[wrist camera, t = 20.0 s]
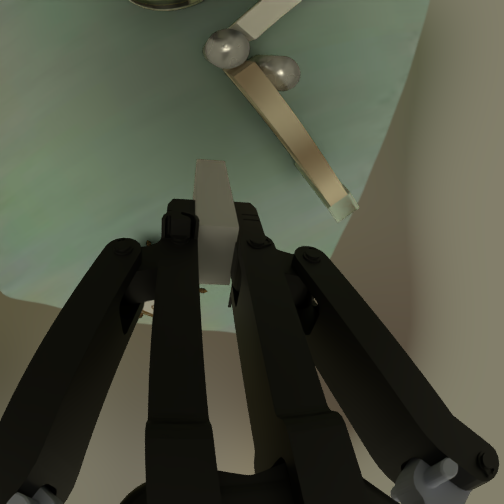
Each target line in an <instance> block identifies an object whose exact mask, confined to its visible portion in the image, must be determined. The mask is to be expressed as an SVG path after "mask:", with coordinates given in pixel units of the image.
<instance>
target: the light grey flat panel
mask: <svg viewBox="0 0 504 504" xmlns="http://www.w3.org/2000/svg"><path fill="white" fill-rule="evenodd" d="M301 1H302V0H260V1H259V2H258V3H256V4H255V5H254V6H253V7H252V8H250V9H249V10H248V11H247V12H246V13H245V14H243V15H242V16H241V17H240V18H239V19H238V20H237V21H236V22H234V23H233V24H232V25H231V26H230V27H229V28H228V29H234V30H237V31H239V32H241V33H242V34H244V35H245V37H246V38H247V40H248V41H251V40H255V39H257V38H258V37H259V36H260V35H261V34H262V33H263V32H264V31H266V30H267V29H268V28H269V27H270V26H271V25H273V24H274V23H275V22H276V21H277V20H278V19H280V18H281V17H282V16H283V15H284V14H286V13H287V12H288V11H289V10H291V9H292V8H293V7H294V6H296V5H297V4H298V3H299V2H301Z"/></svg>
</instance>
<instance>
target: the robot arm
mask: <svg viewBox="0 0 504 504" xmlns="http://www.w3.org/2000/svg"><path fill="white" fill-rule="evenodd" d="M230 278H231V279H232V287H231V293H230V298H229V304H228V307H231V304H232V308H233V315H234V322H235V329H236V335H237V342H238V349H239V355H240V361H241V368H242V375H243V381H244V387H245V393H246V399H247V406H248V412H249V418H250V424H251V430H252V436H253V441H254V448H255V458H254V469H255V474H254V475H242V474H235V473H229V472H223V471H218V470H217V464H216V456H215V447H214V439H213V431H212V426H211V424H210V421H209V416H208V406H207V395H206V384H205V372H204V358H203V344H202V328H201V310H200V290H199V284H220V285H229V284H230ZM314 298H315V300H316V301H317V303H318V305H317V304H316V303H315V301H314ZM152 300H154V309H153V321H152V335H151V351H150V368H149V396H148V421H147V422H146V428H145V465H146V467H145V468H146V482H145V483H143V484H142V485H140V486H138V487H137V488H135V489H134V490H133V491H132V492H130V493H129V494H128V495H127V496H126V497H125V498H124V499H123V501H122V502H121V503H120V504H400V503H398V502H401V504H465V502H466V500H467V498H468V496H469V494H470V492H471V491H472V490H473V489H475V488H477V487H479V486H481V485H483V484H485V483H487V482H488V481H490V480H491V479H493V478H494V477H495V475H496V474H497V472H498V467H499V460H498V455H497V453H496V451H495V449H494V448H493V447H492V446H491V445H490V444H488V443H487V442H486V441H485V440H483V439H482V438H481V437H480V436H478V435H477V434H476V433H475V432H473V431H472V430H471V429H470V428H468V427H467V426H466V425H464V424H463V423H462V422H461V421H459V420H458V419H457V418H456V417H454V416H453V415H452V414H451V412H450V411H449V409H448V408H447V407H446V405H445V404H444V402H443V401H442V400H441V398H440V397H439V396H438V394H437V393H436V392H435V390H434V389H433V387H432V386H431V385H430V384H429V382H428V381H427V379H426V378H425V377H424V375H423V374H422V373H421V371H420V370H419V369H418V368H417V366H416V365H415V364H414V363H413V361H412V360H411V358H410V357H409V356H408V355H407V353H406V352H405V351H404V349H403V348H402V347H401V346H400V344H399V343H398V342H397V341H396V339H395V338H394V337H393V335H392V334H391V333H390V332H389V330H388V329H387V328H386V326H385V325H384V324H383V323H382V322H381V320H380V319H379V318H378V317H377V315H376V314H375V313H374V312H373V310H372V309H371V308H370V307H369V306H368V304H367V303H366V302H365V301H364V300H363V298H362V297H361V296H360V295H359V294H358V292H357V291H356V290H355V289H354V287H353V286H352V285H351V284H350V283H349V281H348V280H347V279H346V278H345V277H344V275H343V274H341V272H340V271H339V270H338V269H337V267H336V266H335V265H334V264H333V263H332V262H331V260H330V259H329V258H328V257H327V256H326V255H325V254H324V253H323V252H322V251H320V250H318V249H316V248H314V247H310V246H302V247H299V248H297V249H296V250H295V253H294V254H290V253H286V252H283V251H280V250H278V249H276V248H275V245H274V243H273V241H272V240H271V239H270V238H268V237H267V236H265V234H264V231H263V228H262V225H261V222H260V219H259V216H258V213H257V210H256V208H255V207H254V206H253V205H252V204H251V203H243V202H234V201H233V197H232V192H231V187H230V183H229V178H228V173H227V169H226V164H225V161H217V160H204V159H197V162H196V171H195V181H194V192H193V200H187V199H173V200H172V201H171V202H170V203H169V204H168V207H167V213H166V214H164V215H163V217H162V235H161V240H160V241H159V242H157V243H155V244H153V245H150V246H145V247H141V245H140V243H138V242H137V241H136V240H133V239H130V238H119V239H115V240H113V241H111V242H110V243H108V244H107V245H106V246H105V248H104V249H103V251H102V252H101V253H100V255H99V256H98V257H97V259H96V260H95V261H94V263H93V264H92V266H91V267H90V268H89V270H88V271H87V273H86V274H85V276H84V277H83V278H82V280H81V281H80V283H79V284H78V286H77V287H76V289H75V290H74V292H73V293H72V295H71V296H70V298H69V299H68V301H67V302H66V304H65V305H64V307H63V308H62V310H61V311H60V313H59V315H58V316H57V318H56V320H55V321H54V323H53V324H52V326H51V327H50V329H49V331H48V332H47V334H46V336H45V337H44V339H43V341H42V342H41V344H40V346H39V347H38V349H37V351H36V353H35V355H34V356H33V358H32V360H31V362H30V363H29V365H28V367H27V369H26V371H25V373H24V374H23V376H22V378H21V380H20V382H19V384H18V386H17V388H16V390H15V392H14V394H13V396H12V398H11V400H10V402H9V404H8V406H7V408H6V410H5V412H4V414H3V416H2V418H1V421H0V504H64V503H65V501H66V500H67V498H68V496H69V494H70V493H71V491H72V489H73V487H74V485H75V482H76V480H77V477H78V474H79V472H80V469H81V466H82V462H83V459H84V456H85V453H86V450H87V448H88V445H89V442H90V439H91V436H92V433H93V430H94V428H95V425H96V422H97V419H98V417H99V414H100V411H101V409H102V406H103V403H104V401H105V398H106V395H107V393H108V390H109V388H110V385H111V383H112V380H113V378H114V375H115V373H116V370H117V368H118V365H119V363H120V361H121V358H122V356H123V353H124V351H125V349H126V346H127V344H128V341H129V339H130V337H131V335H132V332H133V330H134V328H135V325H136V323H137V321H138V319H139V316H140V314H141V312H142V310H143V308H144V304H145V302H147V301H152ZM315 366H316V368H317V369H318V371H319V372H320V374H321V376H322V378H323V379H324V381H325V383H326V384H327V386H328V387H329V389H330V391H331V392H332V394H333V396H334V397H335V399H336V400H337V402H338V403H339V405H340V407H341V408H342V410H343V412H344V413H345V415H346V417H347V418H348V420H349V421H350V423H351V425H352V426H353V428H354V430H355V431H356V433H357V434H358V436H359V438H360V439H361V441H362V442H363V444H364V446H365V447H366V449H367V451H368V452H369V454H370V455H371V457H372V458H373V460H374V461H375V463H376V464H377V465H378V467H379V468H380V469H381V470H382V471H383V472H384V474H385V475H386V476H387V477H388V478H389V479H390V480H392V481H393V482H394V483H395V486H394V487H393V488H392V490H391V497H392V498H390V497H389V496H388V495H386V494H385V493H384V492H382V491H381V490H379V489H378V488H376V487H375V486H374V485H372V484H371V483H369V482H368V481H367V480H365V479H364V478H363V477H362V475H361V471H360V468H359V465H358V462H357V459H356V455H355V453H354V449H353V446H352V443H351V440H350V437H349V433H348V430H347V428H346V424H345V422H344V420H343V418H342V416H341V415H340V414H339V413H338V412H335V411H331V410H330V409H329V407H328V406H327V403H326V399H325V396H324V393H323V390H322V387H321V384H320V380H319V378H318V375H317V371H316V368H315Z"/></svg>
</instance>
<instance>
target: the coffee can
mask: <svg viewBox="0 0 504 504" xmlns="http://www.w3.org/2000/svg"><path fill="white" fill-rule="evenodd" d="M129 1H130V2H132V3H134V4H135V5H137V6H140V7H142V8H146V9H150V10H157V11H171V10H178V9H183V8H187V7H190V6H193V5H195V4H198V3H200V2H202V1H203V0H129Z"/></svg>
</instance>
